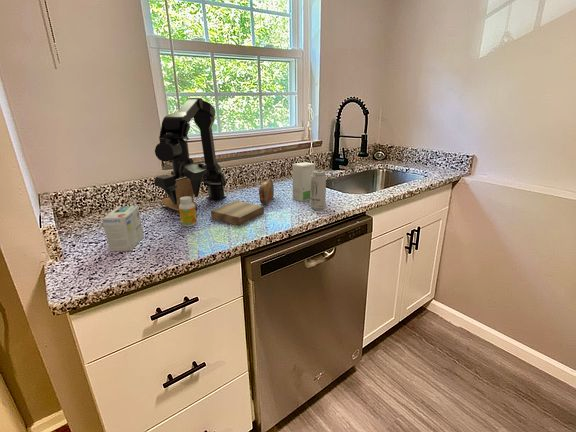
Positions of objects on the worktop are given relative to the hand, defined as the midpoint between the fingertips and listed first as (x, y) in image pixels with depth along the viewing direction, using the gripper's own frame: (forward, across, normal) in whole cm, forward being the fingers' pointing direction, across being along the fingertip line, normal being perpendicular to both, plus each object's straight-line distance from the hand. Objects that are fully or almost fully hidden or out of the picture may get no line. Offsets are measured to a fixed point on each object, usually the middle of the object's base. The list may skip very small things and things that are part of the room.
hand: (186, 200), depth 109 cm
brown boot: (+9, +11, +16) cm, 21 cm away
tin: (+9, +35, -9) cm, 37 cm away
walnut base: (+9, +15, -10) cm, 20 cm away
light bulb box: (+9, -21, +4) cm, 23 cm away
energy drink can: (+9, +38, -32) cm, 50 cm away
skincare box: (+9, +46, -21) cm, 51 cm away
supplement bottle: (+9, 0, 0) cm, 9 cm away
